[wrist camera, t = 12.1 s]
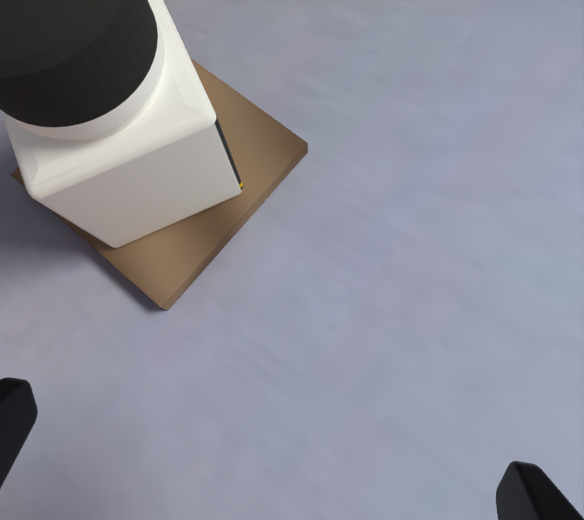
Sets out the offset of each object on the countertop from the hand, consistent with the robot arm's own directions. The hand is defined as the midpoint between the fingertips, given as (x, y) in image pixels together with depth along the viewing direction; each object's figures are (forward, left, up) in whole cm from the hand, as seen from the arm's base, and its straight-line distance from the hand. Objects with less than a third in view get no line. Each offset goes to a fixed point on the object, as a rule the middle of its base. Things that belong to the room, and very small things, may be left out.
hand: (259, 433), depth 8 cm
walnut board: (+5, +13, -13) cm, 19 cm away
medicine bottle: (+4, +13, -13) cm, 18 cm away
